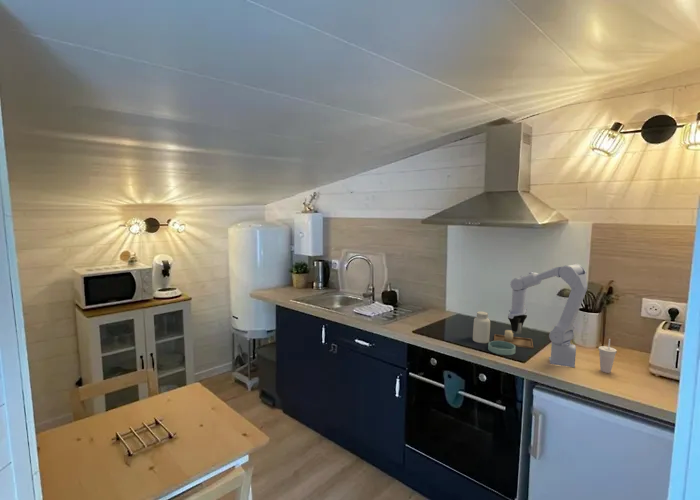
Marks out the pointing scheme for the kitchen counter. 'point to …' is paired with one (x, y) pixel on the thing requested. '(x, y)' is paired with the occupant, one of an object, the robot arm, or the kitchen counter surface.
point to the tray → (516, 341)
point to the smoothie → (606, 358)
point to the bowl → (501, 347)
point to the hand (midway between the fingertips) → (516, 330)
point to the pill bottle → (481, 328)
